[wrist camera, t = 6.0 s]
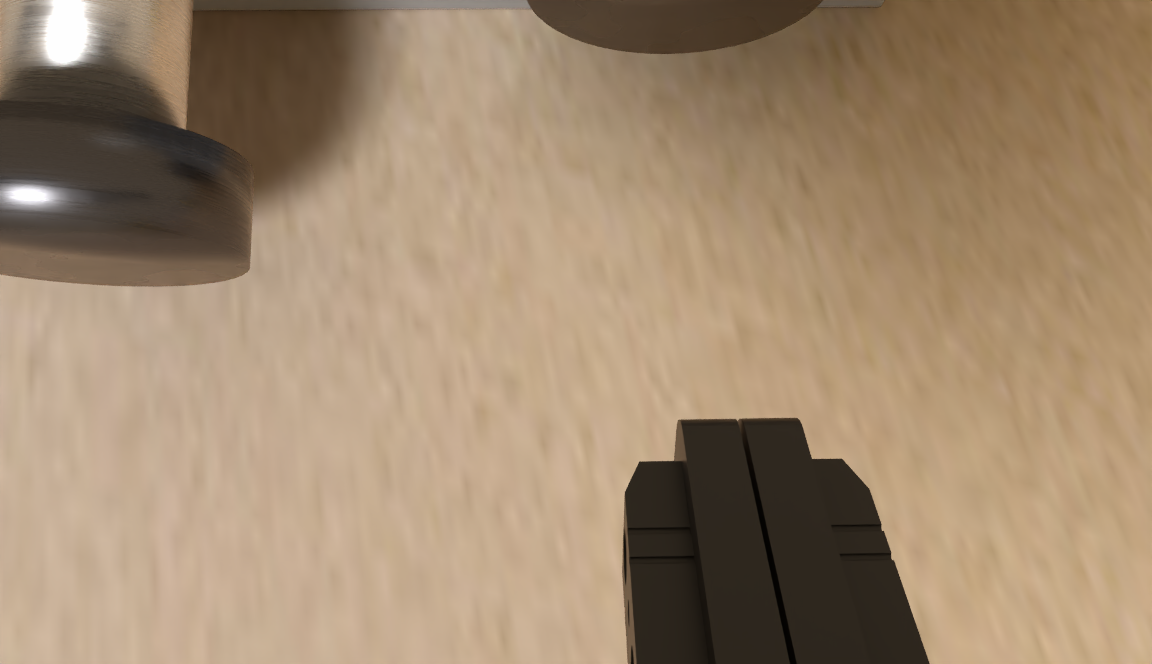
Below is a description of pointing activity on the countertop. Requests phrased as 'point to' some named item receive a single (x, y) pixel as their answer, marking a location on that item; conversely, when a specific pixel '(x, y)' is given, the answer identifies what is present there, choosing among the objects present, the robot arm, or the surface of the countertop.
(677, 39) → the knob
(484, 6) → the slotted grey stand
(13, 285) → the countertop surface
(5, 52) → the knob
